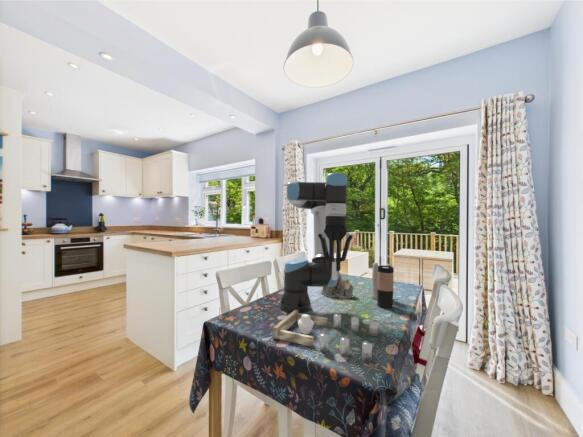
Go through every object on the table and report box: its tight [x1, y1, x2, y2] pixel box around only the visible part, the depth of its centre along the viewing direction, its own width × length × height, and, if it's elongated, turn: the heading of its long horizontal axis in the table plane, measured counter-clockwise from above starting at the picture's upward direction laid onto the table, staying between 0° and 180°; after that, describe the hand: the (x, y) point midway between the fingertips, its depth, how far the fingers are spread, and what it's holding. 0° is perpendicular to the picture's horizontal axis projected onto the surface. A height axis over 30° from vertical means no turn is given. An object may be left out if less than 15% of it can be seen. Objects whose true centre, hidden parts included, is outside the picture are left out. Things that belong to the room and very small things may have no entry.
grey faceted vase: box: [297, 313, 315, 335], centre depth 98 cm, size 6×6×7 cm
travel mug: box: [376, 264, 395, 310], centre depth 129 cm, size 8×8×20 cm
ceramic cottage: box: [320, 272, 355, 299], centre depth 146 cm, size 16×16×15 cm
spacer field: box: [318, 313, 378, 363], centre depth 91 cm, size 17×22×5 cm
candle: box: [371, 262, 379, 300], centre depth 142 cm, size 7×14×20 cm, turn 89°
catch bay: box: [273, 310, 329, 348], centre depth 99 cm, size 15×20×4 cm
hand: (334, 279), depth 94 cm, fingers closed
